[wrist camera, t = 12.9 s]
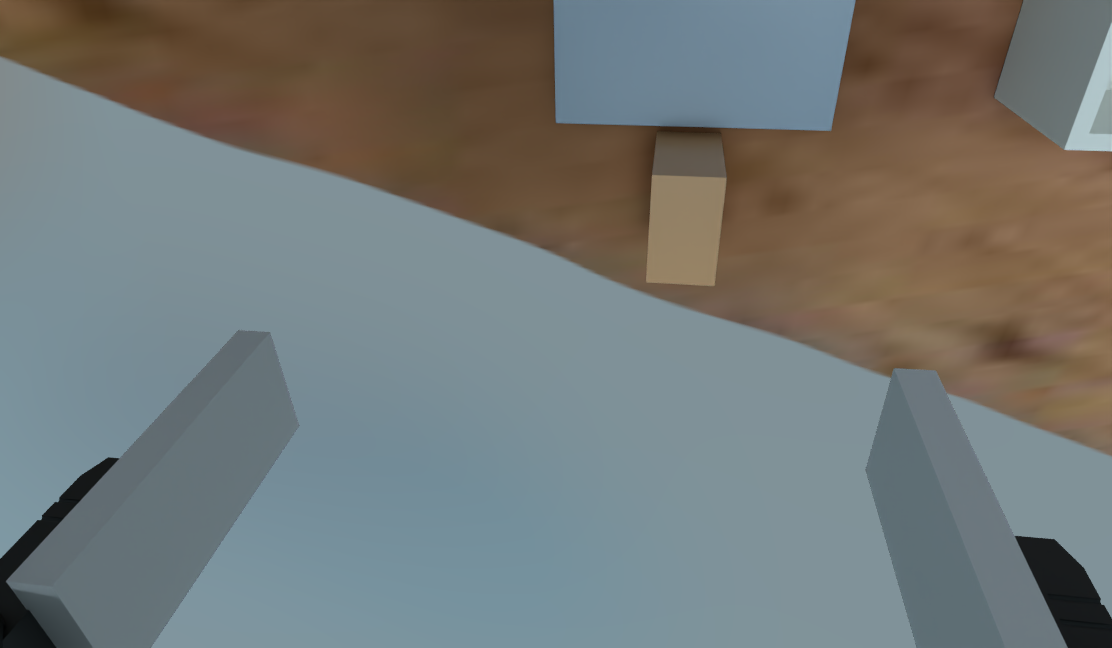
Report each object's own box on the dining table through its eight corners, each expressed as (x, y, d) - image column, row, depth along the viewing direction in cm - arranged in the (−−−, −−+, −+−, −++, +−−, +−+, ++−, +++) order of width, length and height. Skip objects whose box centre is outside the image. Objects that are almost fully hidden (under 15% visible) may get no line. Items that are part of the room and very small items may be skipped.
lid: (551, -339, 26) (518, -391, 21) (918, -363, 24) (979, -426, 19) (559, 222, 38) (540, 276, 33) (807, 234, 36) (827, 292, 31)
